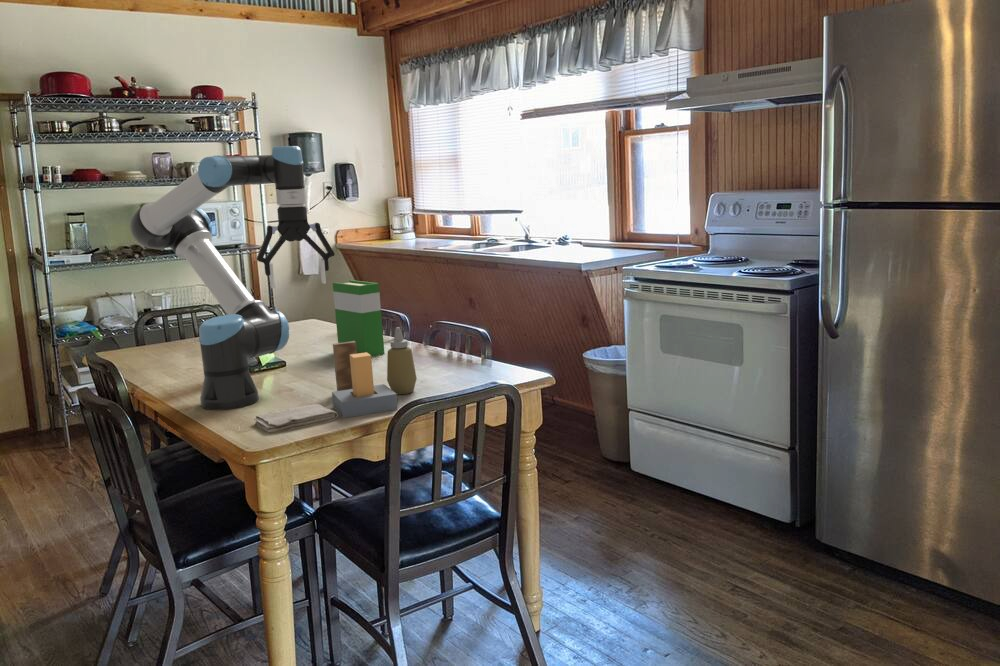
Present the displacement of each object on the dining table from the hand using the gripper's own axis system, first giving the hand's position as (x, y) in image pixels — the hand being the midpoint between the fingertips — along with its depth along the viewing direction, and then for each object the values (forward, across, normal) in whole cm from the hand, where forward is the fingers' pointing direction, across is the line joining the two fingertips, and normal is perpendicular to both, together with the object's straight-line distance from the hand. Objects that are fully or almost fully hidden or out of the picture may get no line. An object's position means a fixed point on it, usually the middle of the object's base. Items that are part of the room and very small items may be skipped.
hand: (298, 285), depth 227 cm
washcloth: (+31, -7, -24) cm, 40 cm away
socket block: (+30, +11, -22) cm, 39 cm away
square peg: (+30, +11, -22) cm, 39 cm away
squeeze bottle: (+30, +24, -12) cm, 40 cm away
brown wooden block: (+31, +11, -3) cm, 33 cm away
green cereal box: (+31, +26, +49) cm, 64 cm away
